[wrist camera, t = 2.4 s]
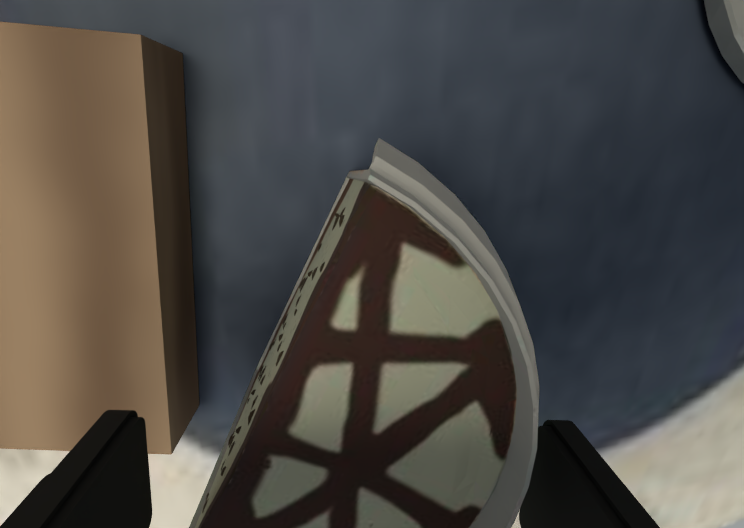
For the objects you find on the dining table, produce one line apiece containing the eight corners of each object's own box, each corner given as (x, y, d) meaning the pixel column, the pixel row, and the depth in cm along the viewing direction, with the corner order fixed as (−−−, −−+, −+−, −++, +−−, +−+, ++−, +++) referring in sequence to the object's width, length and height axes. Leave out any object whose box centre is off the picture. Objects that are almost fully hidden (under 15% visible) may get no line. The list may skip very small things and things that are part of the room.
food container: (368, 445, 20) (381, 740, 10) (242, 397, 19) (126, 674, 9) (508, 207, 17) (714, 311, 7) (366, 133, 16) (386, 140, 6)
